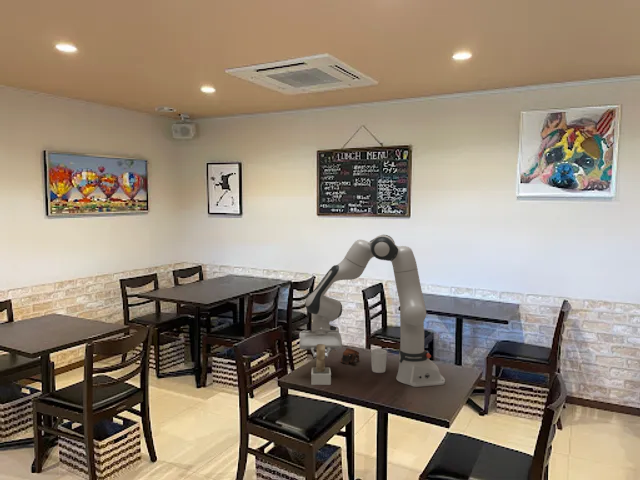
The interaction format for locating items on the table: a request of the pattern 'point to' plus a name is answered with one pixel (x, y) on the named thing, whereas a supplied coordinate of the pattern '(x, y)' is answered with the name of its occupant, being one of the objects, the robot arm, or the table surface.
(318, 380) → the socket box
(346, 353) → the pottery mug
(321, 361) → the peg
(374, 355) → the white cup
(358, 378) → the table surface
